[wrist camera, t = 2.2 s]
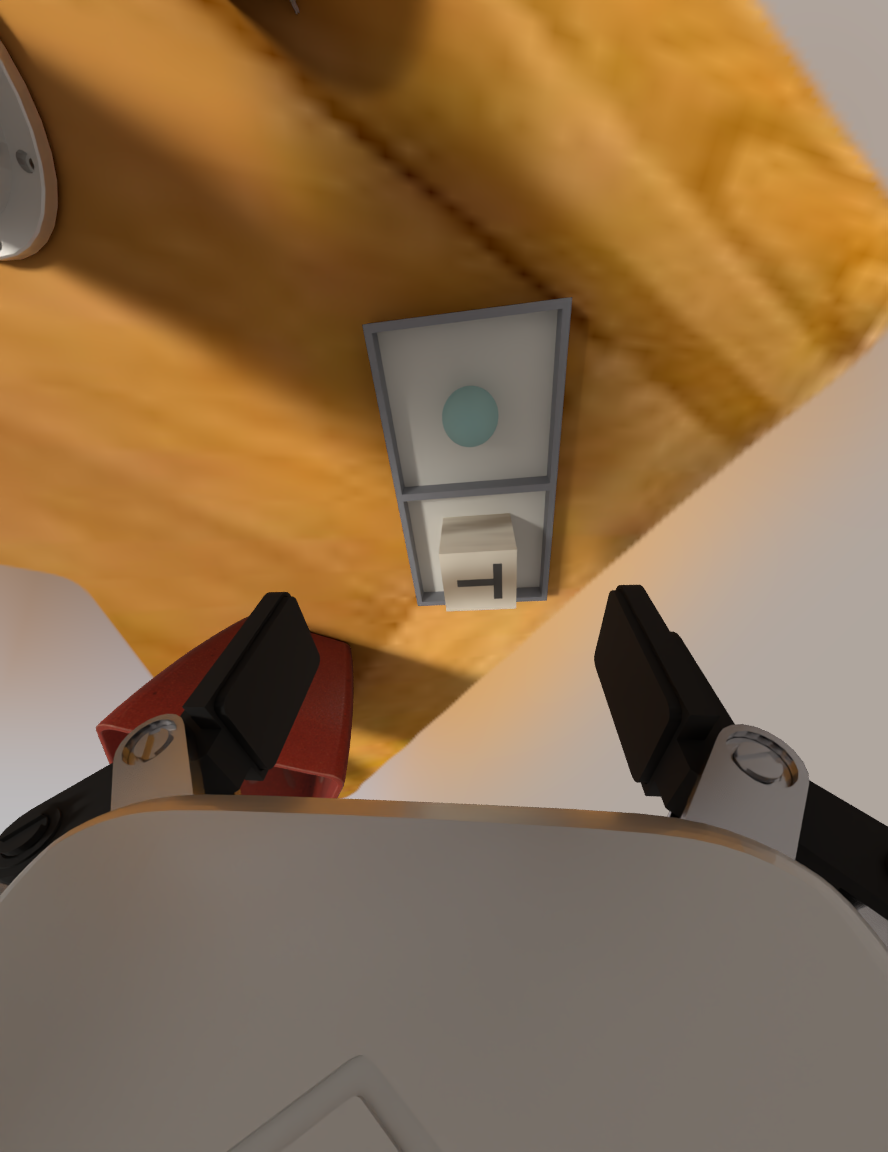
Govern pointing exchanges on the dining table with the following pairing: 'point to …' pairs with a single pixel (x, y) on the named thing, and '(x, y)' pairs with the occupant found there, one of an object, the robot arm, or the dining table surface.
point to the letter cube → (478, 562)
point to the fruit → (294, 5)
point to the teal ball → (470, 416)
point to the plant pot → (315, 736)
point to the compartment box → (493, 469)
